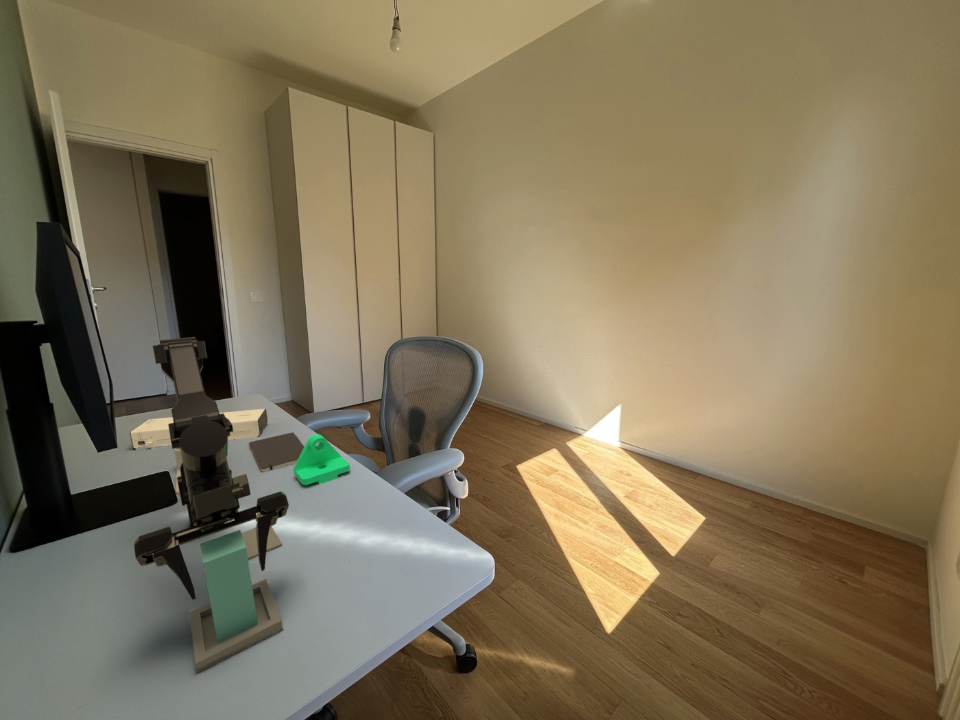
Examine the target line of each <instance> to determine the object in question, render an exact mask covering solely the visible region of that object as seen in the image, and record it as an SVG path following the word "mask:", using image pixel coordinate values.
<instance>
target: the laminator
mask: <svg viewBox="0 0 960 720" xmlns="http://www.w3.org/2000/svg"><path fill="white" fill-rule="evenodd" d="M222 413H224V415H225V417H226V418H228V419H229V420H230V422H231V424H232V426H233V432H230V436H228V441H233V439H235V440H243V439H242V438H245V439H251V438H250V437H254V438H260V436H261V433H262V432H263V430H264V429H265V427H266V425H267V424H268V423H269V422H268V413H267V408H258V409H247V410H236V411H226V412H219V414H222ZM170 423H174V422H173V417H172V416H171V417H159V418H149V419H147V420H145V421H143V422H142V423H140V425H137V427H135V428H134V429H132V430H131V431H130V432H129V435H130V441H131V442H130V443H131V444H132V448H133V449H134V448H138V447H144V446H146V447H155V446H168V445H172V444H171V439H170V433H169V426H168V424H170Z"/></svg>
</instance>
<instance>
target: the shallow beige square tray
mask: <svg viewBox="0 0 960 720" xmlns="http://www.w3.org/2000/svg"><path fill="white" fill-rule="evenodd" d="M252 590H253V596H254V603H255V609H256V616H257V622H258V624H256V625H254V626H252V627H250V628H248V629H246V630H244V631H242V632H240V633H238V634H236V635H234V636H232V637H230V638H227V639H225V640H223V641H221V642H219V643H218V642H217V636H216V631H215V625H214V620H213V614H212V609H211V603H210V602H209V603H207V604H204V605H203V606H200V607H198V608H195V609H193V610H191V611H189V619H190V628H191V638H192V648H193V655H194V663H195V670H196V674H199V673H201V672H203V671H205V670H207V669H210V668H211V667H213V666H215V665H217V664H218V663H221V662H222V661H224V660H226V659H228V658H231V657H232V656H234V655H236V654H238V653H240V652H242V651H244V650H246V649H249V647H252V646H254V645H256V644H257V643H259V642H262V641H264V640H265V639H268V638H269V637H271V636H273V635H275V634H277V633H279V632H281V631H283V630H284V629H283V621H282V618H281V614H280V612H279V609H278V607H277V604H276V601H275V599H274V597H273V593H272V591H271V588H270V585H269V583H268V580H267V578H264V579H262V580H260V581H257V582H255V583H253V584H252Z"/></svg>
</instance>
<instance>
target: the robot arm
mask: <svg viewBox="0 0 960 720" xmlns="http://www.w3.org/2000/svg"><path fill="white" fill-rule="evenodd" d="M152 350H153V355H154V360H155V361H154V363H155V364H156V365H158V364H160V368H161V372H162V373H163V375H165V376H166V377H167V378H168V379H169V380H170V381H171V382H172V383H173V387H174V391H175V392H174V393H175V398H176V403H175V404H174V405H173V406H172V408H171V410H170V411H171V414H172V415H171V417H173V422H174V423H170V424H168V426H169V433H170V439H171V444H172V446H171V449H172V450H174V449H175V448H179V449H180V450H181V455H182V461H183V462H182V464H181V466H180V472H181V476H179V477H177V476H176V477H177V482H178V487H179V492H180V494H179V496H180V503H181V506H183V507H184V506H186V508H187V514H188V519H189V525H188V526H187V528H185V529H182V530H179V531H176V532H175V531H174V532H173V531H172V528H171V526H166V527H164V528H160V529H158V530H155V531H151V532H148V533H145V534H142V535H139V536H138V537H137V538H136V540H135V541H134V542H133V547H134V548H133V550H134V556H135V557H134V558H135V559H136V560H137V562H138V563H139V565H140V566H141V567H142V566H148V565H152V564H155V565H156V567H162V566H168V568H169V569H170V570H171V571H172V572H173V573H174V574H175V576H177V578H178V579H179V581H180V582H181V584H182V585H183V588H184V590H186V592H187V594H188V595H189V597H190V599H191V600H192V601H194V600H196V599H197V597H196V590H195V587H194V584H193V581H192V578H191V575H190V573H189V569H188V567H187V564H186V561H185V559H184V555H183V552H182V550H181V549H182V548H181V547H180V546H182V545H184V544H187V543H190V542H193V541H195V540H199V539H202V538H204V537H208V536H210V535H213V534H216V533H220V532H222V531H225V530H228V529H231V528H233V527H237V526H239V525H243V524H245V523H247V522H252V521H255V522H256V525H255V528H256V537H257V547H258V556H257V557H258V564H259V567H260V571H261V572H263V571H265V569H266V559H267V558H266V557H267V552H266V550H267V539H268V534H269V529H270V527H271V526H272V527H273V526H274V525H277V522H278V520H279V519H280V518H282V517H284V516H286V515H287V512H288V509H289V507H290V505H289V504H290V503H289V501H288V497H287V495H286V493H284V492H283V491H278V492H274V493H270V494H268V495H265V496H262V497H258V498H257V500H256V505H255V506H253V507H249V508H246V509H242V510H240V511H239V509H240V502H239V499H242V498H245V497H247V496H251V488H250V483H249V479H248V475H247V473H245V474H241V475H238V476H234V477H233V474H232V473H233V470H232V469H230V467H229V463H228V458H227V457H228V449H229V448H228V447H229V445H228V444H229V443H228V442H229V440H228V436H230V432H233V426H232V424H231V422H230V420H229V419H228V418H226V417H225V415H224V412H221V413H222V414H219V413H220V410H219V408H218V404H217V401H216V400H214V399H212V398H210V397H209V396H207V394H206V390H205V386H204V383H203V378H202V374H201V372H202V369H203V367H204V363H205V362H204V359H207V358H208V355H207V350H206V343H205V340H197V338H196V336H192V337H191V336H190V337H182V338H181V337H179V338H169V339H159V344H157V345H155V344H154V345H152Z"/></svg>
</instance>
